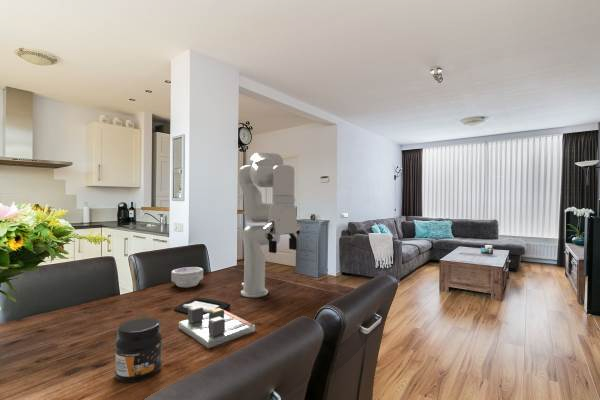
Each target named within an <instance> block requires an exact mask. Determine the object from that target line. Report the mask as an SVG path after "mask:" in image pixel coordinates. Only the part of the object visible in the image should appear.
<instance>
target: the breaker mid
mask: <svg viewBox="0 0 600 400" xmlns="http://www.w3.org/2000/svg"><path fill="white" fill-rule="evenodd" d="M216 317H221V318H223V319H224V310H223V309H220V308H216V309H213V310H211V311H209V320H210V319H213V318H216Z"/></svg>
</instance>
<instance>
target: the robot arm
mask: <svg viewBox="0 0 600 400" xmlns="http://www.w3.org/2000/svg"><path fill="white" fill-rule="evenodd" d="M249 164H250V165H244V166H241V167H240V168H239V170H238V182H239V185H240V188H241V191H242V194H243V202H244V203H243V205H244V206H243V207H244V210H243V211H244V218H245V220H246V222H247V223H250V224H258V225H249V226H246V227H245V228H243V231H242V242H243V251H244V254H243V256H244V257H243V258H244V261H243V262H244V265H243V266H244V267H243V268H244V272H243V273H244V275H243V277H244V279H243V281H244V282H241V284H240V285H241V287H243V289H241V290H240V295H241V296H242V297H245V298H260V297H261V298H262V297H264V296H267V295H268V294H269V290H268V288H266V286H265V285H266V254H265V253H264V251H263V250H262V249H261V248H260V247H267V246H268V253H271V254H277V251H278V249H277V248H278V247H277V245H279V243H280V240H281V236H282V235H288V236H289V238H288V249H289V250H293V251H296V250H297V248H298V247H297V244H298V243H297V242H298V241H297V239H298V238H299V235H300V233H301V230H302V225H301V224H300V223H298V221H297V208H296V205H295V201H296V198H295V168H294V166H292V165H289V164H284V158H283V157H282V156H281V155H280V154H278V153H274V152H271V153H270V152H256V153H254V154H253V155H252V156H251V157H250V160H249ZM259 188H272V203H271V202H263V200H262V199H263V197H262V196H263V194H262V191H260V189H259ZM259 224H266V225H259Z"/></svg>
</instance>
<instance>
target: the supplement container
mask: <svg viewBox="0 0 600 400" xmlns="http://www.w3.org/2000/svg"><path fill="white" fill-rule="evenodd" d="M116 329H117V332H116V333H117V334H116V335H117V338H116V339H115V341H114V348H115V351H114V352H115V354H114V355H115V357H114V359H115V360H114V365H115V366H114V367H115V368H114V376H115V378H116V380H117V381H119V382H120V381H121V382H124V383H136V382H135V381H137V382H141V381H144V380H146V378H147V379H149V378H150V377H152V376H154V375H155V374H156V373H158V372H159V370H160V369H161V367H162V363H163V360H162V339H163V334H162V333H163V332H161V330H160V329H161V321H160V320H159V319H157V318H155V317H142V318H141V317H140V318H134V319H132V320H128V321H125V322H123V323H121V324H120V325H119V326H118V327H117V328H116ZM143 379H144V380H143ZM140 380H141V381H140Z"/></svg>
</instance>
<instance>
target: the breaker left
mask: <svg viewBox="0 0 600 400" xmlns="http://www.w3.org/2000/svg"><path fill="white" fill-rule="evenodd" d="M187 320H188V321H190V322H191V323H193V322H197V321H200V320H203V308H202V307H200V306H194V307H190V308H189V309H188V315H187Z"/></svg>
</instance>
